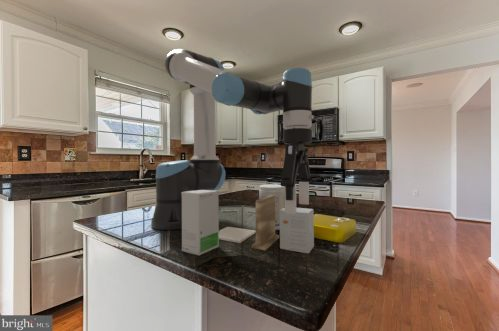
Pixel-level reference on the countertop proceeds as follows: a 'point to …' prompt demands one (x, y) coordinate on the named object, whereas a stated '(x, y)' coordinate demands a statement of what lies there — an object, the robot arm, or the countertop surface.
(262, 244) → the oak screen
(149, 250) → the countertop surface
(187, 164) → the robot arm
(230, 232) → the cream pad
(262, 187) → the supplement tub
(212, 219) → the skincare box
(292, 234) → the small box
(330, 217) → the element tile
